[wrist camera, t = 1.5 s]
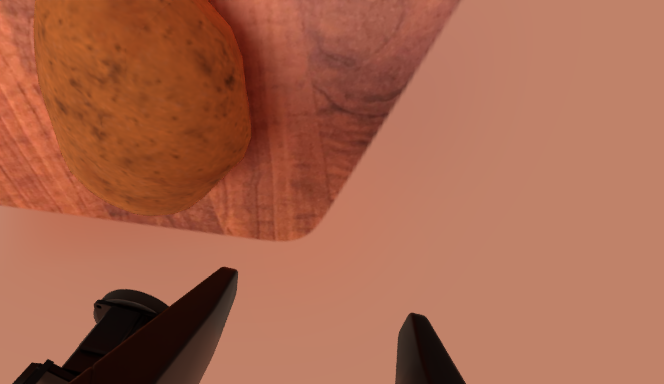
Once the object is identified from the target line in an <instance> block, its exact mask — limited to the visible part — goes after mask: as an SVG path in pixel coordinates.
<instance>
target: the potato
mask: <svg viewBox="0 0 664 384" xmlns="http://www.w3.org/2000/svg"><path fill="white" fill-rule="evenodd" d="M34 49H35V61H36V67H37V74H38V81H39V86H40V89H41V92H42V95H43V98H44V102H45V105H46V108H47V111H48V114H49V117H50V120H51V123H52V126H53V129H54V131H55V134H56V137H57V141H58V144H59V147H60V151H61V154H62V156H63V158H64V160H65V162H66V164H67V166H68V168H69V170H70V172H71V173H72V174H73V175H74V176H75V177H76V178H77V179H78V180H79V181H80V182H81V183H82V184H83V185H84V186H85V187H86V188H87V189H88V190H89V191H90V192H92V193H93V194H95V195H96V196H98V197H99V198H101V199H102V200H104V201H105V202H107V203H109V204H111V205H113V206H116V207H118V208H121V209H123V210H126V211H128V212H131V213H133V214H139V215H146V216H156V215H168V214H175V213H178V212H180V211H183V210H186V209H189V208H190V207H191V206H193V205H194V204H195V203H197V202H198V201H199V200H201V199H202V198H203V197H204V196H205V195H206V194H207V193H208V192H209V191H210V190H211V189H212V188H213V187H214V186H215V185H216V184H217V183H218V182H219V181H220V180H221V179H222V178H223V177H224V176H225V175H226V174H227V173H228V172H229V171H230V170H231V169H232V168H233V167H235V166H236V165H237V164H238V163H239V162H240V161H241V160H242V159H243V158H244V155H245V152H246V150H247V147H248V144H249V141H250V139H251V136H252V134H251V122H250V110H249V104H248V97H247V91H246V85H245V76H244V66H243V58H242V55H241V53H240V50H239V47H238V45H237V42H236V39H235V37H234V34H233V31H232V29H231V27H230V25H229V24H228V23H227V22H226V21H225V20H224V19H223V18H222V16H221V15H220V14H219V13H218V12H217V11H216V10H215V9H214V7H213V6H212V5H211V4H210V3H209V2H208V1H207V0H35V11H34Z"/></svg>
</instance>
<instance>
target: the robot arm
mask: <svg viewBox="0 0 664 384" xmlns="http://www.w3.org/2000/svg"><path fill="white" fill-rule="evenodd" d="M237 280H238V271H237V270H236V269H232V268H228V267H221V268H220V269H219V270H217V271H216V272H215V273H213V274H212V275H211V276H209V277H208V278H207V279H205V280H204V281H203V282H201V283H200V284H199V285H197V286H196V287H195V288H194V289H192V290H191V291H190V292H188V293H187V294H186V295H184V296H183V297H182V298H180V299H179V300H178V301H176V302H175V303H174V304H172V305H171V306H170V307H168V308H167V309H166V310H164V311H163V312H162V313H161V314H158V313H154V312H149V311H145V310H141V309H137V308H133V307H129V306H125V305H121V304H116V303H112V302H108V301H104V300H97V301H96V302H95V303H94V308H95V312H96V315H97V319H98V323H97V324H96V325H95V327H94V328H93V329H92V330H91V332H90V333H89V334H88V335H87V336H86V337H85V339H84V340H83V341H82V342H81V343H80V345H79V347H78V348H77V349H76V350H75V352H74V353H73V354H72V355H71V356H70V358H69V359H68V360H67V361H66V362H65V364H64V365H63V366H62V367H59V366H57V365H55V364H54V362H53V361H51V360H49V359H48V360H46V362H45V363H44V364H41V363H31V364H30V365H29V366H28V367H27V368H26V370H25V371H24V372H23V373H22V374H21V375H20V376H19V377H18V378H17V379H16V381H14V383H13V384H199V383H200V380H201V379H202V376H203V374H204V372H205V371H206V368H207V366H208V365H209V363H210V361H211V358H212V356H213V354H214V351H215V349H216V347H217V344H218V342H219V339H220V336H221V334H222V331H223V328H224V325H225V322H226V320H227V317H228V315H229V312H230V309H231V307H232V304H233V301H234V299H235V295H236V291H237ZM395 382H396V383H395V384H466V383H465V381H464V380H463V378H462V376H461V375H460V373H459V371H458V370H457V368H456V366H455V364H454V363H453V361H452V359H451V358H450V356H449V354H448V353H447V351H446V349H445V348H444V346H443V344H442V343H441V341H440V339H439V337H438V336H437V334H436V332H435V331H434V329H433V327H432V326H431V324H430V322H429V320H428V319H427V318H426V317H425V316H423V315H420V314H415V313H410V314H409V315H408V317H407V318H406V320H405V322H404V324H403V326H402V328H401V329H400V332H399V336H398V349H397V364H396V381H395Z"/></svg>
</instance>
